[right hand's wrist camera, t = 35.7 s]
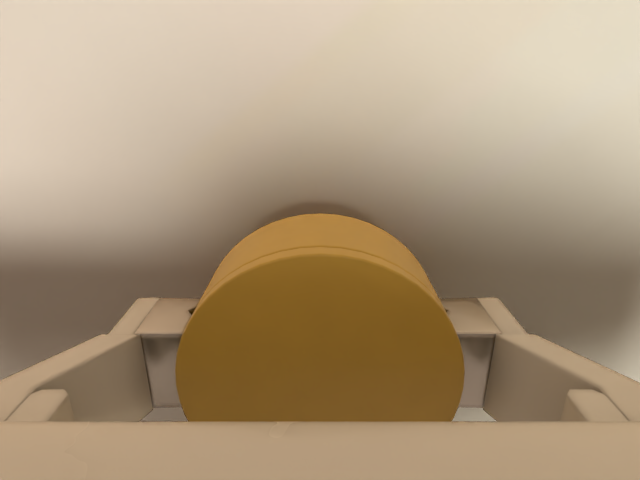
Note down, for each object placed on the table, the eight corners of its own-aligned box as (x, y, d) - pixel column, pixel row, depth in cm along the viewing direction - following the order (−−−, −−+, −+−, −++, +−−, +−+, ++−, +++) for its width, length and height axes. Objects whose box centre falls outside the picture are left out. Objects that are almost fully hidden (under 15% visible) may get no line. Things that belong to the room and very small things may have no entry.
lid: (412, 185, 9) (441, 219, 7) (449, 387, 11) (481, 464, 9) (171, 245, 10) (126, 294, 7) (246, 429, 11) (229, 511, 9)
